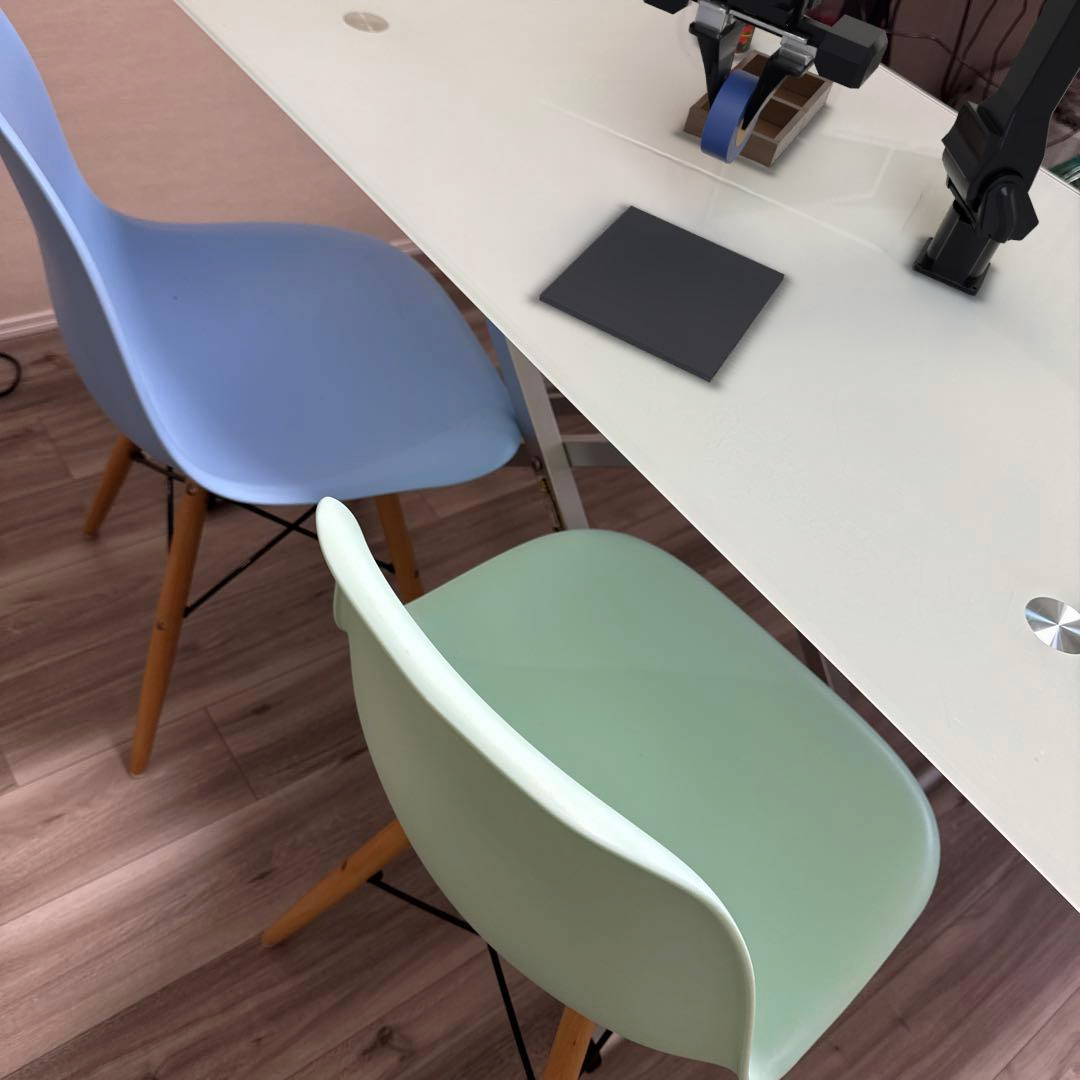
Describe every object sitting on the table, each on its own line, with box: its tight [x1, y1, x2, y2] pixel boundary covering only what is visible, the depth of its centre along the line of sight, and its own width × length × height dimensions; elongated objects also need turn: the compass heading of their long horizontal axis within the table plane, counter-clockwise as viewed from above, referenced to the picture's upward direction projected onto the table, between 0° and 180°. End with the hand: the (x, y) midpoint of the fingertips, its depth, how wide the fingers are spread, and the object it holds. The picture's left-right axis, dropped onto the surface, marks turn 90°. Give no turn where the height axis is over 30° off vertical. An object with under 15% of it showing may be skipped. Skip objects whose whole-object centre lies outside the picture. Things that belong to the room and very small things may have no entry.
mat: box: [539, 205, 786, 383], centre depth 86 cm, size 18×16×1 cm
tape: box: [700, 69, 760, 165], centre depth 83 cm, size 7×3×7 cm, turn 150°
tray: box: [683, 49, 835, 168], centre depth 108 cm, size 19×10×3 cm, turn 151°
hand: (729, 121), depth 83 cm, fingers closed on tape, 2 cm apart
